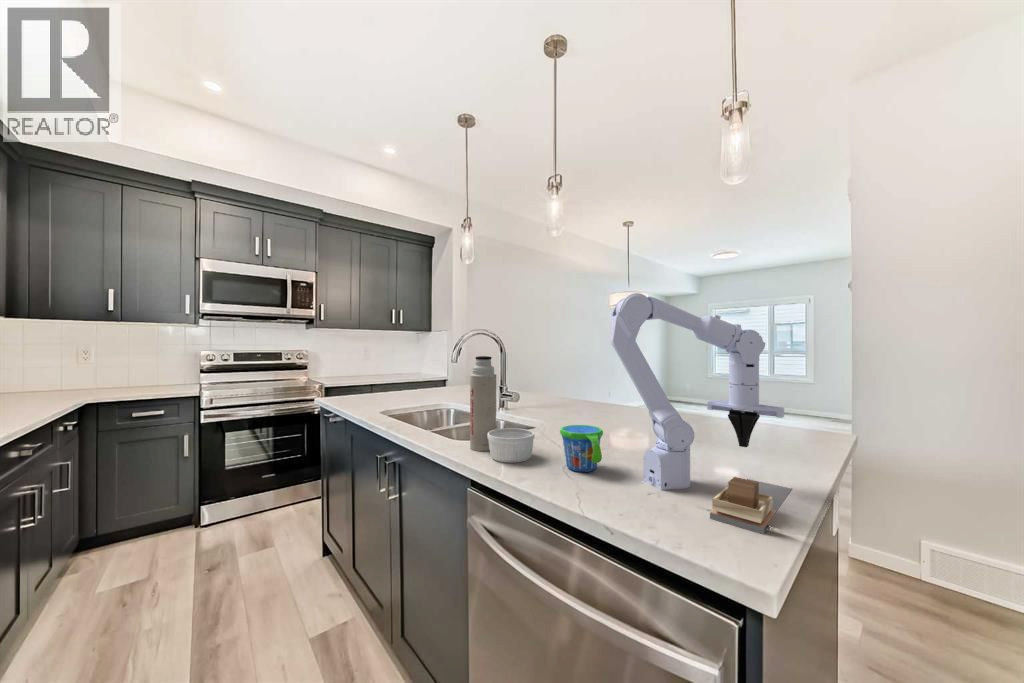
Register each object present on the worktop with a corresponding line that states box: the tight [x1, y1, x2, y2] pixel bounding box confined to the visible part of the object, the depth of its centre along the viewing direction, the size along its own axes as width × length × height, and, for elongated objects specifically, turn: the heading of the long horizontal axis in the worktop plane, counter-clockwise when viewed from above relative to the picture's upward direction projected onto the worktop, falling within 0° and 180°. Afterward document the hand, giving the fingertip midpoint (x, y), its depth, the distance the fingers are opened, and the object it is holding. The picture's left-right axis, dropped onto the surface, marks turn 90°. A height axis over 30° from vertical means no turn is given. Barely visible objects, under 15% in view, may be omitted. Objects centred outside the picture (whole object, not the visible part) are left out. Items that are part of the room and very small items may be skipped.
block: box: [727, 476, 760, 509], centre depth 72 cm, size 4×4×4 cm
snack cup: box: [559, 424, 604, 473], centre depth 100 cm, size 16×10×10 cm
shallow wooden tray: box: [711, 485, 773, 523], centre depth 72 cm, size 9×8×2 cm
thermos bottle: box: [469, 355, 497, 452], centre depth 120 cm, size 8×8×28 cm
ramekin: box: [488, 427, 535, 464], centre depth 110 cm, size 13×13×7 cm
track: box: [709, 478, 793, 535], centre depth 78 cm, size 25×8×1 cm, turn 135°
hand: (743, 446), depth 86 cm, fingers closed
